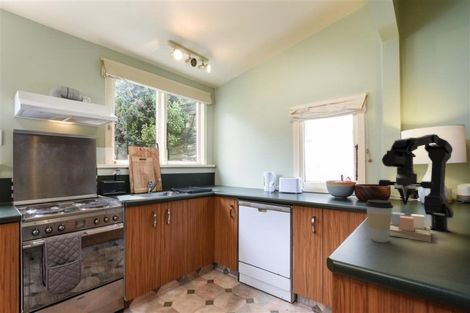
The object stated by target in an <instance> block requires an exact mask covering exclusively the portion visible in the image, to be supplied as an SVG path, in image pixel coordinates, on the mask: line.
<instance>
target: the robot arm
mask: <svg viewBox="0 0 470 313" xmlns="http://www.w3.org/2000/svg"><path fill="white" fill-rule="evenodd" d="M423 146H424V151H426V153H427V156H428V158H429V160H430V161H431V174H430V176H431V177H430V181H424V180H421V181H420V182H418V174H417V173H414V158H416V157H417V155H416V154H415V153H413V152H414V151H416V150H418V147H423ZM453 150H454V149H453V146H452V145H451V144H450V143H449V141H447V140H446V139H444V138H441V137H440V136H439V135H438V134H434V133H433V134H425V135H422V136H418V137H405V138H397V139H395V140H394V142H393V143H392V145H391V147H390V149H389V150H386V153H385V154H384V155H383V156H382V157H381V158H382V159H381V162H382V164H383V166H385V167H387V168H396V175H395V181H394V180H393V181H392V180H391V179H379V180H378V187H389V186H394V187H393V188H394V190H397V191H398V194H399V196H400V197H401V200H402V203H403V205H405V206H406V205H407V204H408V203H409V199H410V197H411V195H412V193H413V191H416V190H417V188H422V189H427V190H429V193H428V194H427V195H424V197H423V198H424V199H423V201H424V202H423V208H424V213H425V215H426V216H427V215H429V216H430V223H431V224H430V226H429V227H430V231H431V230H432V231H440V232H448V233H450V229H449V228H448V219H453V217H454V211H453V209H452V208H451V206H450V205H449V200H448V198H447V196H446V195H445V184H446V183H445V181H446V164H447V162H448V161H449V160H450V159H451V157H452V153H453ZM404 187H407V188H406V192H405V188H404ZM405 193H406V194H405Z"/></svg>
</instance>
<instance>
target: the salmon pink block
mask: <svg viewBox="0 0 470 313" xmlns="http://www.w3.org/2000/svg"><path fill="white" fill-rule="evenodd" d="M400 230H406V231H414V217H411V216H408V215H407V216H406V215H405V216H400Z"/></svg>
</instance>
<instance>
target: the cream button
mask: <svg viewBox="0 0 470 313" xmlns="http://www.w3.org/2000/svg"><path fill="white" fill-rule="evenodd" d="M410 217H414V228H421V229H425V227H426V225H425V224H426V223H425V214H416V213H415V214H414V213H411V214H410Z"/></svg>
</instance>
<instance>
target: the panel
mask: <svg viewBox="0 0 470 313" xmlns="http://www.w3.org/2000/svg"><path fill="white" fill-rule="evenodd" d="M390 236H392V237H397V238H405V239H412V240H415V241H416V240H417V241H422V242H423V241H425V242H429V243H431V242H432V240H431V239H432V238H431V236H432V235H431V229H430V226H425V229H421V228H414V231H406V230H400V226H397V225H392V221H391V225H390V231H389V237H390Z"/></svg>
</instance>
